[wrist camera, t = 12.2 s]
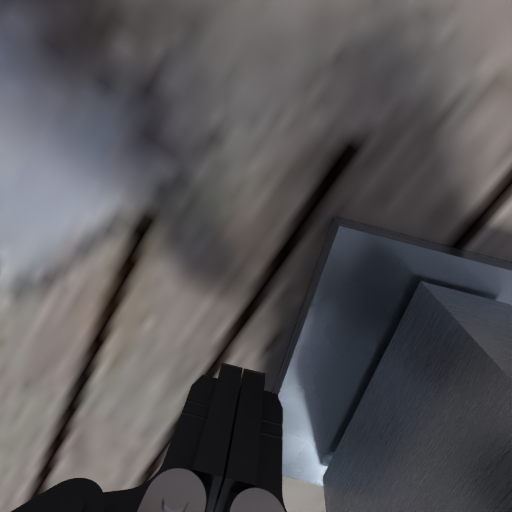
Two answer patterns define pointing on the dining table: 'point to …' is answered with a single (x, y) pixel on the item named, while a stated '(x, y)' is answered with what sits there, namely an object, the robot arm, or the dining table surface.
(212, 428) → the robot arm
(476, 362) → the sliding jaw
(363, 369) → the vise
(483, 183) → the dining table surface
